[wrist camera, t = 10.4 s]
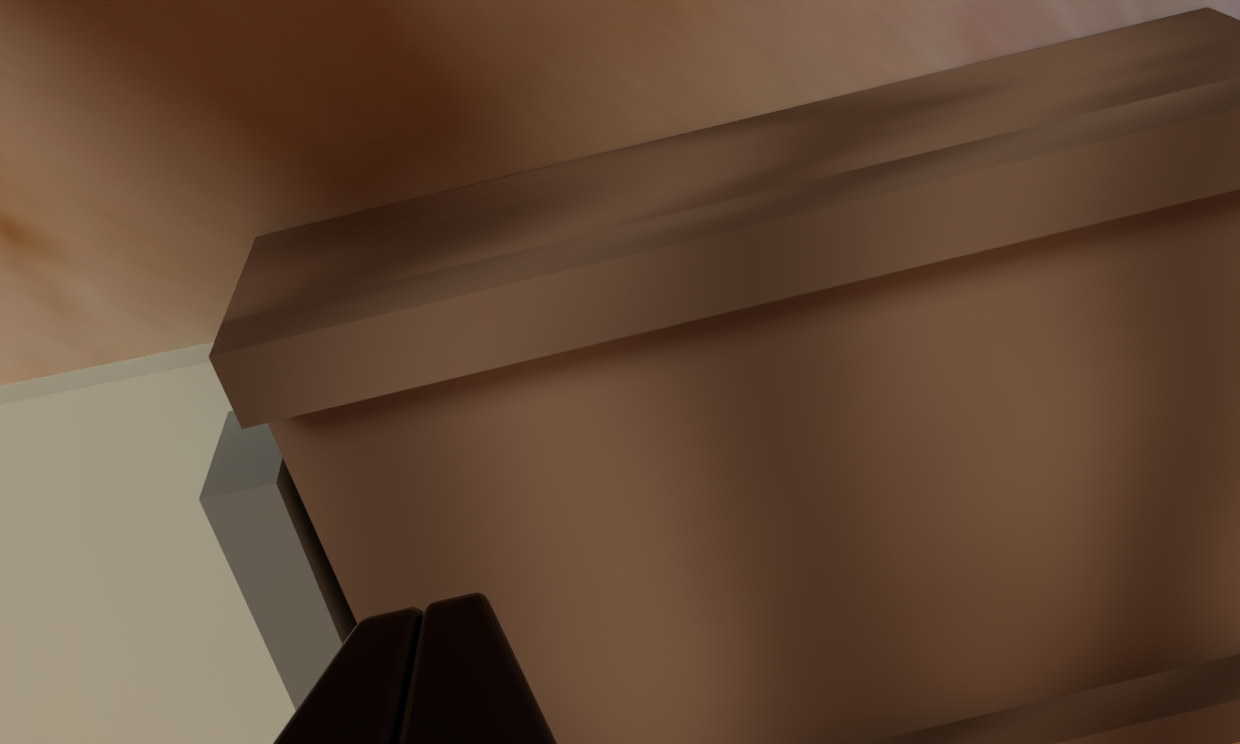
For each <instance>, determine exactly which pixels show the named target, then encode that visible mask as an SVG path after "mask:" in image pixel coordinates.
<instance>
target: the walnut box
mask: <svg viewBox="0 0 1240 744" xmlns="http://www.w3.org/2000/svg"><path fill="white" fill-rule="evenodd" d="M209 359H210V361H211V363H212V366H213V368H214V370H215V372H216V374H217V376H218V379H219V381H220V383H221V385H222V387H223V389H224V391H225V394H226V396H227V398H228V400H229V402H230V404H231V407H232V409H233V411H234V413H235V415H236V417H237V420H238V422H239V424H240V426H241V428H242V429H245V428H249V427H253V426H257V425H261V424H265V423H268V426H269V428H270V430H271V432H272V434H273V437H274V439H275V441H276V443H277V446H278V448H279V450H280V452H281V455H282V457H283V459H284V461H285V463H286V466H287V468H288V470H289V472H290V475H291V477H292V479H293V481H294V484H295V486H296V488H297V490H298V493H299V495H300V497H301V499H302V501H303V504H304V506H305V508H306V510H307V513H308V515H309V517H310V519H311V522H312V524H313V526H314V528H315V530H316V533H317V535H318V537H319V539H320V542H321V544H322V546H323V548H324V551H325V553H326V555H327V557H328V559H329V562H330V564H331V566H332V568H333V571H334V573H335V575H336V577H337V580H338V582H339V584H340V586H341V589H342V591H343V593H344V595H345V597H346V600H347V602H348V604H349V606H350V609H351V611H352V613H353V615H354V618H355V620H356V622H357V624H358V623H359V622H361V621H362V620H363V619H365V618H368V617H370V616H374V615H379V614H383V613H387V612H392V611H396V610H401V609H405V608H409V607H416V608H419V609H421V610H423V611H424V609H425V608H426V607H427V606H428V605H429V604H430V603H433V602H436V601H440V600H444V599H449V598H453V597H458V596H462V595H466V594H471V593H476V592H479V593H482V594H484V595H485V596H486V597H487V598H488V600H489V602H490V604H491V606H492V608H493V610H494V612H495V614H496V616H497V619H498V621H499V623H500V625H501V627H502V629H503V631H504V633H505V635H506V637H507V640H508V642H509V644H510V646H511V648H512V650H513V652H514V654H515V656H516V658H517V660H518V663H519V665H520V667H521V669H522V671H523V673H524V675H525V677H526V679H527V681H528V684H529V686H530V688H531V690H532V692H533V694H534V696H535V698H536V700H537V702H538V704H539V707H540V709H541V711H542V713H543V715H544V717H545V719H546V721H547V723H548V725H549V728H550V730H551V732H552V734H553V736H554V738H555V740H556V742H557V744H1231V743H1235V742H1240V20H1238V19H1235V18H1233V17H1231V16H1228V15H1226V14H1223V13H1221V12H1218V11H1216V10H1213V9H1211V8H1208V7H1207V8H1203V9H1199V10H1194V11H1190V12H1186V13H1182V14H1178V15H1174V16H1170V17H1165V18H1161V19H1157V20H1153V21H1149V22H1145V23H1141V24H1136V25H1132V26H1128V27H1124V28H1120V29H1116V30H1112V31H1108V32H1103V33H1099V34H1095V35H1091V36H1087V37H1083V38H1079V39H1074V40H1070V41H1066V42H1062V43H1058V44H1054V45H1050V46H1045V47H1041V48H1037V49H1033V50H1029V51H1025V52H1021V53H1016V54H1012V55H1008V56H1004V57H1000V58H996V59H992V60H988V61H983V62H979V63H975V64H971V65H967V66H963V67H959V68H954V69H950V70H946V71H942V72H938V73H934V74H930V75H925V76H921V77H917V78H913V79H909V80H905V81H901V82H896V83H892V84H888V85H884V86H880V87H876V88H872V89H867V90H863V91H859V92H855V93H851V94H847V95H843V96H839V97H834V98H830V99H826V100H822V101H818V102H814V103H810V104H805V105H801V106H797V107H793V108H789V109H785V110H781V111H776V112H772V113H768V114H764V115H760V116H756V117H752V118H747V119H743V120H739V121H735V122H731V123H727V124H723V125H719V126H714V127H710V128H706V129H702V130H698V131H694V132H690V133H685V134H681V135H677V136H673V137H669V138H665V139H661V140H656V141H652V142H648V143H644V144H640V145H636V146H632V147H627V148H623V149H619V150H615V151H611V152H607V153H603V154H599V155H594V156H590V157H586V158H582V159H578V160H574V161H570V162H565V163H561V164H557V165H553V166H549V167H545V168H541V169H536V170H532V171H528V172H524V173H520V174H516V175H512V176H507V177H503V178H499V179H495V180H491V181H487V182H483V183H478V184H474V185H470V186H466V187H462V188H458V189H454V190H450V191H445V192H441V193H437V194H433V195H429V196H425V197H421V198H416V199H412V200H408V201H404V202H400V203H396V204H392V205H387V206H383V207H379V208H375V209H371V210H367V211H363V212H358V213H354V214H350V215H346V216H342V217H338V218H334V219H330V220H325V221H321V222H317V223H313V224H309V225H305V226H301V227H296V228H292V229H288V230H284V231H280V232H276V233H272V234H267V235H263V236H259V237H256V238H255V241H254V243H253V246H252V248H251V251H250V254H249V256H248V259H247V261H246V264H245V266H244V269H243V271H242V274H241V276H240V279H239V281H238V284H237V286H236V289H235V291H234V294H233V296H232V299H231V301H230V304H229V306H228V309H227V311H226V314H225V316H224V319H223V321H222V324H221V326H220V329H219V331H218V334H217V336H216V339H215V342H214V344H213V347H212V349H211V352H210V354H209Z"/></svg>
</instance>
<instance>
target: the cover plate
mask: <svg viewBox="0 0 1240 744" xmlns="http://www.w3.org/2000/svg"><path fill="white" fill-rule="evenodd" d="M213 344H214V342H212V343H207V344H202V345H197V346H192V347H187V348H182V349H178V350H173V351H168V352H163V353H158V354H153V355H148V356H144V357H139V358H134V359H129V360H124V361H119V362H114V363H110V364H105V365H100V366H95V367H90V368H85V369H80V370H76V371H71V372H66V373H61V374H56V375H51V376H47V377H42V378H37V379H32V380H27V381H22V382H17V383H13V384H8V385H3V386H0V744H273V742H274V741H275V740H276V738H277V737H278V735H279V734H280V733H281V731H282V730H283V728H284V727H285V725H286V724H287V723H288V721H289V720H290V718H291V717H292V715H293V714H294V713H295V711H296V710H297V708H298V707H299V706H300V704H301V703H302V701H303V700H304V698H305V697H306V696H307V694H308V693H309V691H310V690H311V688H312V687H313V686H314V684H315V683H316V681H317V680H318V679H319V677H320V676H321V674H322V673H323V671H324V670H325V669H326V667H327V666H328V664H329V663H330V661H331V660H332V659H333V657H334V656H335V654H336V653H337V652H338V650H339V649H340V647H341V646H342V644H343V643H344V642H345V640H346V639H347V637H348V636H349V634H350V633H351V632H352V630H353V629H354V628H355V626H356V625H357V622H356V620H355V618H354V615H353V613H352V611H351V609H350V606H349V604H348V602H347V600H346V597H345V595H344V593H343V591H342V589H341V586H340V584H339V582H338V580H337V577H336V575H335V573H334V571H333V568H332V566H331V564H330V562H329V559H328V557H327V555H326V553H325V551H324V548H323V546H322V544H321V542H320V539H319V537H318V535H317V533H316V530H315V528H314V526H313V524H312V522H311V519H310V517H309V515H308V513H307V510H306V508H305V506H304V504H303V501H302V499H301V497H300V495H299V493H298V490H297V488H296V486H295V484H294V481H293V479H292V477H291V475H290V472H289V470H288V468H287V466H286V463H285V461H284V459H283V457H282V455H281V452H280V450H279V448H278V446H277V443H276V441H275V439H274V437H273V434H272V432H271V430H270V428H269V426H268V423H265V424H261V425H257V426H253V427H249V428H245V429H242V428H241V426H240V424H239V422H238V420H237V417H236V415H235V413H234V411H233V409H232V407H231V404H230V402H229V400H228V398H227V396H226V394H225V391H224V389H223V387H222V385H221V383H220V381H219V379H218V376H217V374H216V372H215V370H214V368H213V366H212V363H211V361H210V359H209V354H210V352H211V349H212V347H213Z"/></svg>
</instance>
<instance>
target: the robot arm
mask: <svg viewBox="0 0 1240 744" xmlns="http://www.w3.org/2000/svg"><path fill="white" fill-rule="evenodd" d="M273 744H557V742H556V740H555V738H554V736H553V734H552V732H551V730H550V728H549V725H548V723H547V721H546V719H545V717H544V715H543V713H542V711H541V709H540V707H539V704H538V702H537V700H536V698H535V696H534V694H533V692H532V690H531V688H530V686H529V684H528V681H527V679H526V677H525V675H524V673H523V671H522V669H521V667H520V665H519V663H518V660H517V658H516V656H515V654H514V652H513V650H512V648H511V646H510V644H509V642H508V640H507V637H506V635H505V633H504V631H503V629H502V627H501V625H500V623H499V621H498V619H497V616H496V614H495V612H494V610H493V608H492V606H491V604H490V602H489V600H488V598H487V597H486V596H485V595H484V594H482V593H479V592H476V593H471V594H466V595H462V596H458V597H453V598H449V599H444V600H440V601H436V602H433V603H430V604H429V605H428V606H427V607H426V608H425V609H424V611H423V610H421V609H419V608H416V607H409V608H405V609H401V610H396V611H392V612H387V613H383V614H379V615H374V616H370V617H368V618H365V619H363V620H362V621H361V622H359V623H358V624H357V625H356V626H355V628H354V629H353V630H352V632H351V633H350V634H349V636H348V637H347V639H346V640H345V642H344V643H343V644H342V646H341V647H340V649H339V650H338V652H337V653H336V654H335V656H334V657H333V659H332V660H331V661H330V663H329V664H328V666H327V667H326V669H325V670H324V671H323V673H322V674H321V676H320V677H319V679H318V680H317V681H316V683H315V684H314V686H313V687H312V688H311V690H310V691H309V693H308V694H307V696H306V697H305V698H304V700H303V701H302V703H301V704H300V706H299V707H298V708H297V710H296V711H295V713H294V714H293V715H292V717H291V718H290V720H289V721H288V723H287V724H286V725H285V727H284V728H283V730H282V731H281V733H280V734H279V735H278V737H277V738H276V740H275V741H274V742H273Z"/></svg>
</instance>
